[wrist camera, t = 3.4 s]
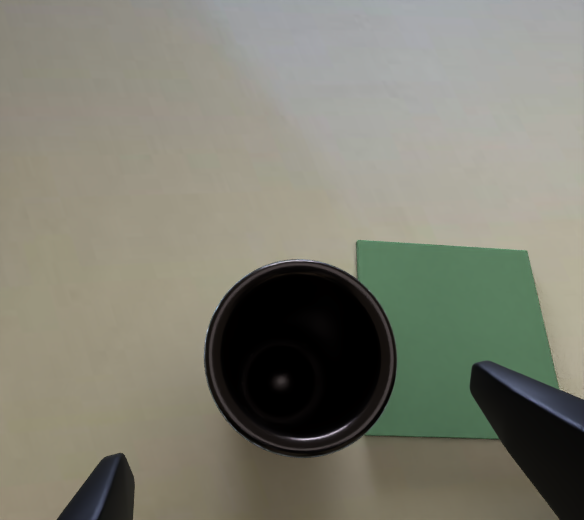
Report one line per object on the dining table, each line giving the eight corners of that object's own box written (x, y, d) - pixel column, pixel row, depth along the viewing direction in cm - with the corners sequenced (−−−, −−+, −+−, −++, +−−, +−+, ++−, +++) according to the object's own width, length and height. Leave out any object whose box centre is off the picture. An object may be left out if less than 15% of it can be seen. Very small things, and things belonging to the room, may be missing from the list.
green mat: (565, 440, 18) (571, 441, 18) (363, 434, 17) (365, 435, 17) (522, 252, 22) (527, 250, 21) (356, 242, 21) (357, 239, 21)
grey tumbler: (277, 455, 17) (299, 512, 7) (214, 378, 18) (161, 340, 8) (345, 384, 18) (438, 354, 9) (283, 317, 19) (306, 224, 10)
